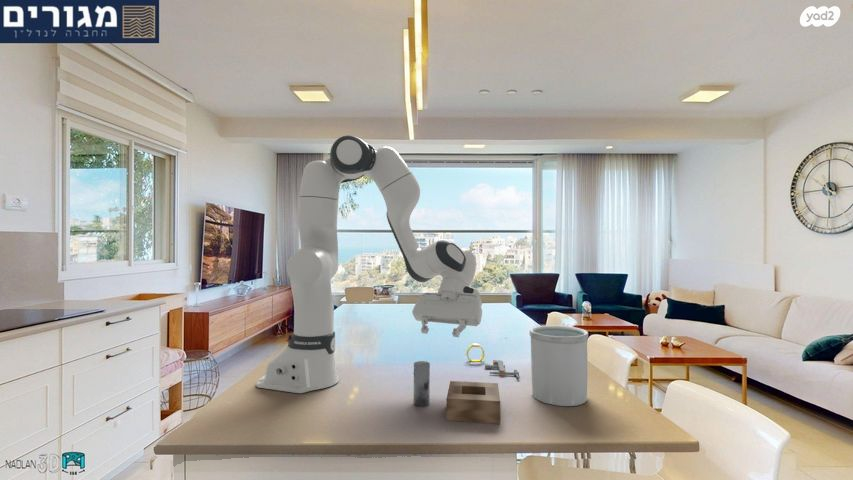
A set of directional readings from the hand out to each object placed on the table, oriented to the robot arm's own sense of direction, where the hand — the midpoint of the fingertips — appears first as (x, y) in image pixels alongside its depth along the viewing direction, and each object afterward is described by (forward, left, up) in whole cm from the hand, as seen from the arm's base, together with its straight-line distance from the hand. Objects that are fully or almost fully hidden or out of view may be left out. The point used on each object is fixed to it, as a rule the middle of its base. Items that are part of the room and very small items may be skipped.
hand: (439, 334), depth 113 cm
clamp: (+18, +19, -16) cm, 30 cm away
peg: (-3, -10, -15) cm, 19 cm away
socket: (+10, -13, -15) cm, 22 cm away
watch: (+10, +30, -15) cm, 35 cm away
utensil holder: (+32, 0, -15) cm, 35 cm away
